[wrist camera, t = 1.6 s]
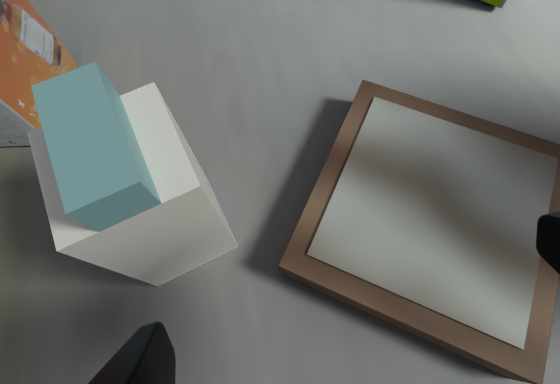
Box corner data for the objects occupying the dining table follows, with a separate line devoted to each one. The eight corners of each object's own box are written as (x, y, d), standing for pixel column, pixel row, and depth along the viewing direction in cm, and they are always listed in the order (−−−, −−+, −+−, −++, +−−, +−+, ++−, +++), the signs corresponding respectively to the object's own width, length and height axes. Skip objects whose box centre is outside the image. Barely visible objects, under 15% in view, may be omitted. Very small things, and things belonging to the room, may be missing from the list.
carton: (238, 247, 22) (185, 161, 11) (157, 286, 21) (14, 236, 10) (206, 178, 24) (134, 46, 13) (131, 211, 23) (-13, 102, 12)
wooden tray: (511, 379, 19) (544, 386, 16) (279, 272, 22) (278, 265, 19) (551, 169, 24) (581, 149, 21) (356, 102, 26) (363, 77, 24)
